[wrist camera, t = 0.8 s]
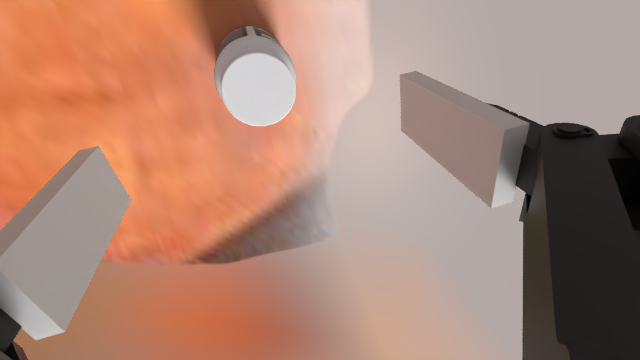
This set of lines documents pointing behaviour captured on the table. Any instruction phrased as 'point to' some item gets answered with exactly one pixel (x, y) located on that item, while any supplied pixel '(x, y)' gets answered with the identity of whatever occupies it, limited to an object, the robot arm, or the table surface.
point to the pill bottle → (255, 76)
